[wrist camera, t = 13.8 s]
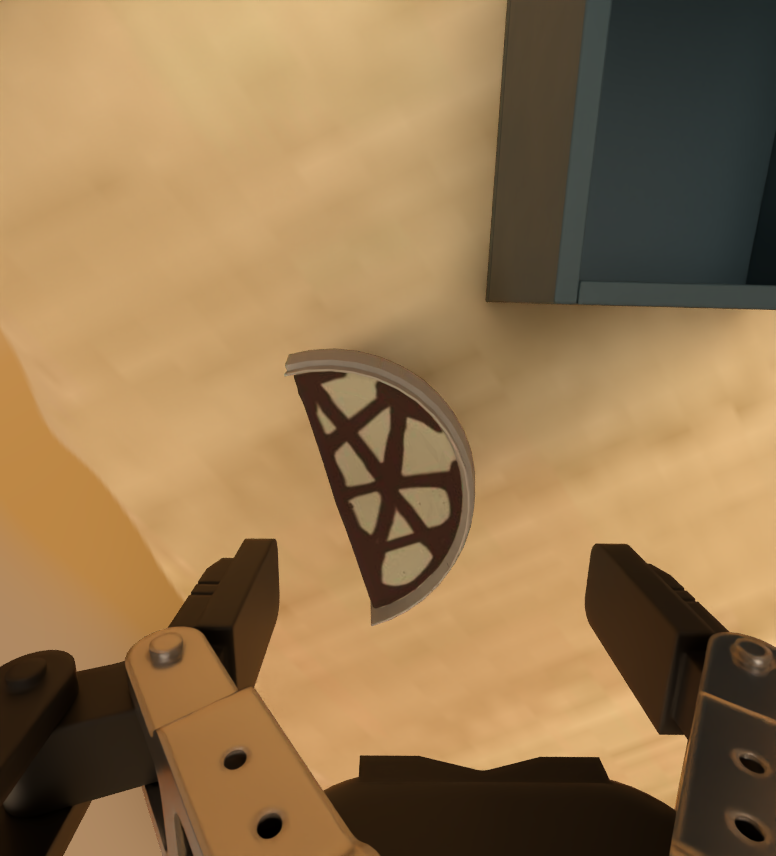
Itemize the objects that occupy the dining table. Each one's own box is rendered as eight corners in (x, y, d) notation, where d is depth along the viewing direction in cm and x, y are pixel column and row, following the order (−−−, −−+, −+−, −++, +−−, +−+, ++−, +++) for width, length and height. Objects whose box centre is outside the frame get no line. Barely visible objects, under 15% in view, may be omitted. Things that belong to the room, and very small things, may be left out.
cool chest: (744, 308, 28) (978, 315, 17) (485, 301, 28) (553, 304, 17) (810, -24, 24) (1171, -295, 13) (509, -36, 24) (620, -324, 13)
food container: (472, 505, 31) (515, 600, 21) (376, 531, 31) (375, 636, 21) (419, 307, 28) (440, 312, 18) (314, 339, 28) (279, 360, 18)
